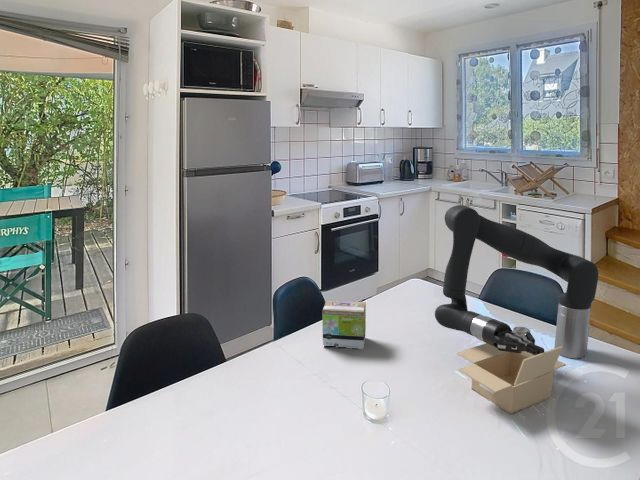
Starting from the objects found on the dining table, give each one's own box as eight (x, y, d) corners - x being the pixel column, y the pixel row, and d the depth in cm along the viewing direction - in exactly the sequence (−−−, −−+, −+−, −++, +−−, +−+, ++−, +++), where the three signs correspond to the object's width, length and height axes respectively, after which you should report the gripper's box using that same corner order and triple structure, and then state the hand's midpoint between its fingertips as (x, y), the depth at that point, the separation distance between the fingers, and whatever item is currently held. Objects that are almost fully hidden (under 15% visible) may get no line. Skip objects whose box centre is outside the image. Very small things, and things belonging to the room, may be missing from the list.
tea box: (322, 348, 156) (321, 309, 153) (326, 336, 166) (325, 299, 162) (364, 350, 153) (364, 311, 150) (366, 337, 163) (365, 300, 160)
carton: (504, 360, 143) (506, 336, 141) (564, 391, 125) (567, 364, 123) (439, 383, 131) (440, 357, 129) (495, 421, 113) (497, 392, 111)
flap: (551, 369, 120) (561, 345, 117) (552, 370, 120) (562, 346, 116) (513, 384, 114) (523, 359, 110) (514, 385, 114) (524, 360, 110)
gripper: (474, 323, 125) (525, 345, 110) (506, 314, 131) (559, 334, 116) (473, 347, 127) (524, 372, 111) (505, 337, 132) (558, 360, 117)
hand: (542, 353), depth 114 cm, fingers closed
